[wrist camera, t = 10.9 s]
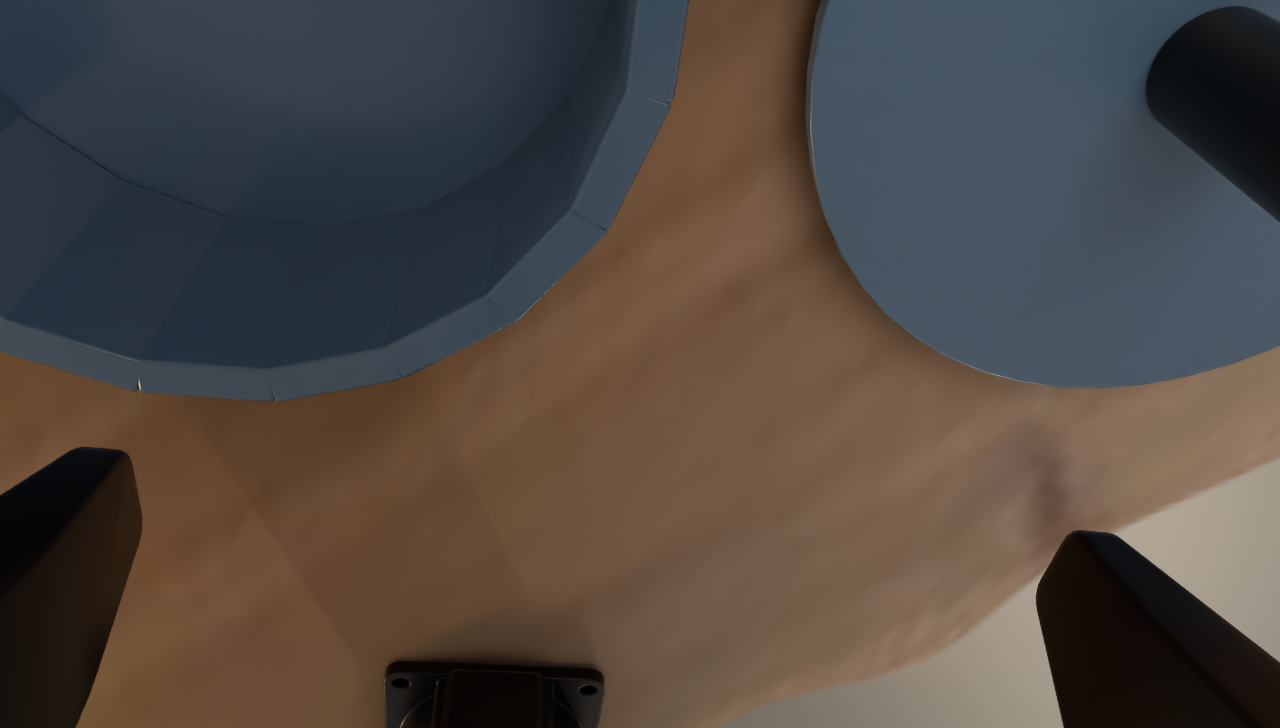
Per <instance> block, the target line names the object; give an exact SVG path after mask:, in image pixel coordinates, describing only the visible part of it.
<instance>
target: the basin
mask: <svg viewBox="0 0 1280 728" xmlns="http://www.w3.org/2000/svg"><path fill="white" fill-rule="evenodd" d="M688 2H689V0H0V352H3V353H6V354H10V355H13V356H16V357H20V358H23V359H27V360H30V361H33V362H37V363H40V364H43V365H47V366H50V367H53V368H57V369H60V370H64V371H67V372H70V373H74V374H77V375H80V376H84V377H87V378H91V379H94V380H97V381H101V382H104V383H107V384H111V385H114V386H118V387H121V388H124V389H128V390H131V391H138V390H140V391H141V392H143V393H154V394H168V395H183V396H197V397H212V398H226V399H241V400H255V401H270V402H271V401H275V400H277V401H278V402H281V401H287V400H292V399H298V398H303V397H309V396H314V395H319V394H325V393H330V392H336V391H341V390H347V389H352V388H358V387H363V386H369V385H374V384H380V383H385V382H391V381H396V380H400V379H402V377H408V376H410V375H412V374H414V373H416V372H418V371H420V370H422V369H424V368H426V367H428V366H430V365H432V364H434V363H436V362H438V361H440V360H442V359H444V358H446V357H448V356H450V355H452V354H454V353H456V352H458V351H460V350H462V349H464V348H466V347H468V346H470V345H472V344H474V343H476V342H478V341H480V340H482V339H484V338H486V337H488V336H490V335H492V334H494V333H496V332H498V331H500V330H502V329H504V328H506V327H508V326H510V325H511V324H512V323H513V322H517V321H519V320H520V319H521V318H522V317H523V316H524V315H525V314H526V313H527V312H528V311H529V310H530V309H531V308H532V307H533V306H534V305H535V304H536V303H537V302H538V301H539V300H540V299H541V298H542V297H543V296H544V295H545V294H546V293H547V292H548V291H549V290H550V289H551V288H552V287H553V286H554V285H555V284H556V283H557V282H558V281H559V280H560V279H561V278H562V277H563V276H564V275H565V274H566V273H567V272H568V271H569V270H570V269H572V268H573V267H574V266H575V265H576V264H577V263H578V262H579V261H580V260H581V259H582V258H583V257H584V256H585V255H586V254H587V253H588V252H589V251H590V250H591V249H592V248H593V247H594V246H595V245H596V244H597V243H598V242H599V241H600V240H601V239H602V238H603V237H604V236H605V235H606V234H607V230H608V229H609V228H610V227H611V225H612V223H613V221H614V219H615V217H616V215H617V213H618V211H619V209H620V207H621V205H622V203H623V201H624V199H625V197H626V195H627V193H628V191H629V189H630V187H631V185H632V183H633V181H634V179H635V177H636V175H637V174H638V172H639V170H640V168H641V166H642V164H643V162H644V160H645V158H646V156H647V154H648V152H649V150H650V148H651V146H652V144H653V142H654V140H655V138H656V136H657V134H658V132H659V130H660V128H661V126H662V124H663V122H664V120H665V118H666V116H667V114H668V112H669V110H670V107H671V103H670V102H671V101H672V100H673V98H674V94H675V87H676V81H677V74H678V68H679V61H680V55H681V48H682V41H683V35H684V28H685V22H686V15H687V9H688Z"/></svg>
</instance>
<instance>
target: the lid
mask: <svg viewBox="0 0 1280 728" xmlns="http://www.w3.org/2000/svg"><path fill="white" fill-rule="evenodd" d="M805 121H806V131H807V140H808V150H809V159H810V167H811V171H812V175H813V179H814V183H815V186H816V190H817V194H818V198H819V202H820V206H821V209H822V211H823V214H824V216H825V218H826V221H827V223H828V225H829V228H830V230H831V232H832V235H833V237H834V239H835V242H836V244H837V246H838V249H839V251H840V253H841V255H842V257H843V258H844V260H845V261H846V263H847V264H848V266H849V268H850V269H851V271H852V272H853V274H854V275H855V277H856V279H857V280H858V282H859V283H860V285H861V286H862V288H863V289H864V290H865V291H866V292H867V293H868V294H869V296H870V297H871V298H872V299H873V300H874V301H875V302H876V303H877V305H878V306H879V307H880V308H881V309H882V310H883V311H884V312H885V314H886V315H887V316H889V317H890V318H891V319H892V320H894V321H895V322H896V323H897V324H898V325H900V326H901V327H902V328H903V329H905V330H906V331H907V332H908V333H909V334H911V335H912V336H913V337H914V338H916V339H917V340H919V341H921V342H922V343H924V344H926V345H927V346H929V347H931V348H933V349H934V350H936V351H938V352H939V353H941V354H943V355H944V356H946V357H948V358H950V359H953V360H955V361H957V362H960V363H962V364H965V365H967V366H969V367H972V368H974V369H977V370H979V371H982V372H985V373H988V374H992V375H996V376H1000V377H1003V378H1007V379H1011V380H1015V381H1018V382H1024V383H1032V384H1039V385H1046V386H1054V387H1071V388H1108V387H1120V386H1132V385H1143V384H1149V383H1154V382H1160V381H1165V380H1171V379H1176V378H1182V377H1187V376H1190V375H1194V374H1198V373H1201V372H1205V371H1208V370H1212V369H1216V368H1219V367H1223V366H1227V365H1230V364H1233V363H1235V362H1238V361H1241V360H1243V359H1246V358H1249V357H1251V356H1254V355H1257V354H1260V353H1262V352H1265V351H1268V350H1270V349H1273V348H1275V347H1278V346H1280V0H821V2H820V5H819V8H818V12H817V15H816V20H815V26H814V32H813V38H812V44H811V50H810V56H809V62H808V68H807V88H806V117H805Z"/></svg>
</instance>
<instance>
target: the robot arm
mask: <svg viewBox="0 0 1280 728" xmlns="http://www.w3.org/2000/svg"><path fill="white" fill-rule="evenodd" d="M141 533H142V512H141V507H140V501H139V496H138V491H137V486H136V480H135V475H134V470H133V465H132V461H131V459H130V457H129V455H128V454H127V453H126V452H124V451H122V450H117V449H105V448H93V447H78V448H75V449H73V450H71V451H69V452H67V453H66V454H64V455H63V456H61V457H59V458H58V459H56V460H55V461H53V462H52V463H50V464H48V465H47V466H45V467H44V468H42V469H41V470H39V471H37V472H36V473H34V474H33V475H31V476H30V477H28V478H26V479H25V480H23V481H22V482H20V483H19V484H17V485H15V486H14V487H12V488H11V489H9V490H8V491H6V492H4V493H3V494H1V495H0V728H76V725H77V723H78V721H79V719H80V716H81V714H82V712H83V709H84V707H85V705H86V702H87V700H88V698H89V695H90V692H91V689H92V687H93V684H94V681H95V678H96V675H97V672H98V669H99V666H100V663H101V660H102V657H103V654H104V651H105V648H106V645H107V641H108V638H109V635H110V632H111V629H112V626H113V623H114V620H115V617H116V614H117V610H118V607H119V604H120V601H121V598H122V595H123V592H124V589H125V586H126V583H127V579H128V576H129V573H130V570H131V567H132V564H133V561H134V558H135V555H136V552H137V548H138V545H139V542H140V538H141ZM1036 606H1037V612H1038V617H1039V621H1040V625H1041V629H1042V634H1043V639H1044V643H1045V647H1046V652H1047V656H1048V660H1049V665H1050V669H1051V674H1052V678H1053V682H1054V687H1055V691H1056V696H1057V700H1058V705H1059V709H1060V713H1061V718H1062V722H1063V726H1064V728H1280V662H1279V661H1277V660H1276V659H1275V658H1273V657H1272V656H1271V655H1270V654H1268V653H1267V652H1266V651H1264V650H1263V649H1262V648H1261V647H1259V646H1258V645H1257V644H1255V643H1254V642H1253V641H1251V640H1250V639H1249V638H1248V637H1246V636H1245V635H1244V634H1242V633H1241V632H1240V631H1239V630H1237V629H1236V628H1235V627H1233V626H1232V625H1231V624H1230V623H1229V622H1227V621H1226V620H1225V619H1223V618H1222V617H1221V616H1219V615H1218V614H1217V613H1216V612H1214V611H1213V610H1212V609H1211V608H1209V607H1208V606H1206V605H1205V604H1204V603H1203V602H1202V601H1200V600H1199V599H1198V598H1196V597H1195V596H1194V595H1192V594H1191V593H1190V592H1189V591H1187V590H1186V589H1185V588H1184V587H1182V586H1181V585H1180V584H1178V583H1177V582H1176V581H1175V580H1173V579H1172V578H1171V577H1169V576H1168V575H1167V574H1166V573H1164V572H1163V571H1162V570H1160V569H1159V568H1158V567H1156V566H1155V565H1154V564H1153V563H1151V562H1150V561H1149V560H1148V559H1146V558H1145V557H1144V556H1142V555H1141V554H1140V553H1139V552H1137V551H1136V550H1135V549H1134V548H1132V547H1131V546H1130V545H1128V544H1127V543H1126V542H1125V541H1123V540H1122V539H1121V538H1119V537H1118V536H1116V535H1114V534H1111V533H1107V532H1096V531H1084V530H1077V531H1073V532H1071V533H1070V534H1069V535H1067V536H1066V537H1065V539H1064V540H1063V542H1062V544H1061V545H1060V547H1059V549H1058V550H1057V552H1056V554H1055V556H1054V557H1053V559H1052V561H1051V563H1050V564H1049V566H1048V568H1047V570H1046V571H1045V573H1044V575H1043V576H1042V578H1041V580H1040V582H1039V584H1038V588H1037V593H1036ZM603 697H604V676H603V674H602V673H601V672H599V671H597V670H594V669H582V668H558V667H533V666H509V665H484V664H459V663H435V662H410V661H399V662H394V663H392V664H390V665H389V666H388V667H387V669H386V673H385V679H384V701H385V725H386V728H598V725H599V720H600V714H601V708H602V702H603Z"/></svg>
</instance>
